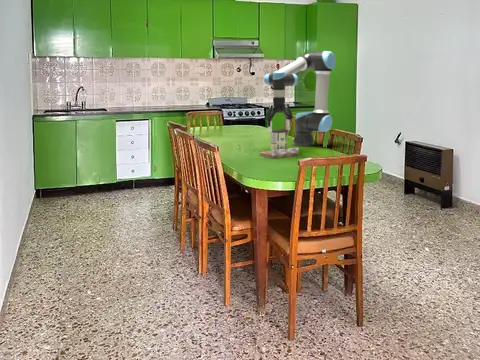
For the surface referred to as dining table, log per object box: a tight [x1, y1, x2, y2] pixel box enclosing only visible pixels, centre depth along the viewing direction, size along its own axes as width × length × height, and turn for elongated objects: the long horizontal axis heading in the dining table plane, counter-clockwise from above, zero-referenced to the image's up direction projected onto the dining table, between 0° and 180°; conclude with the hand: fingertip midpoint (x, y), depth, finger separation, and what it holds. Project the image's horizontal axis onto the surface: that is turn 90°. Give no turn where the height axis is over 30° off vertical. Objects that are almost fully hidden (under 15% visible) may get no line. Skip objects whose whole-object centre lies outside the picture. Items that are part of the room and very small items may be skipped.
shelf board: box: [259, 146, 300, 159], centre depth 318 cm, size 20×14×5 cm
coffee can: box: [269, 128, 288, 153], centre depth 318 cm, size 10×10×14 cm
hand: (279, 130), depth 316 cm, fingers open, 13 cm apart
